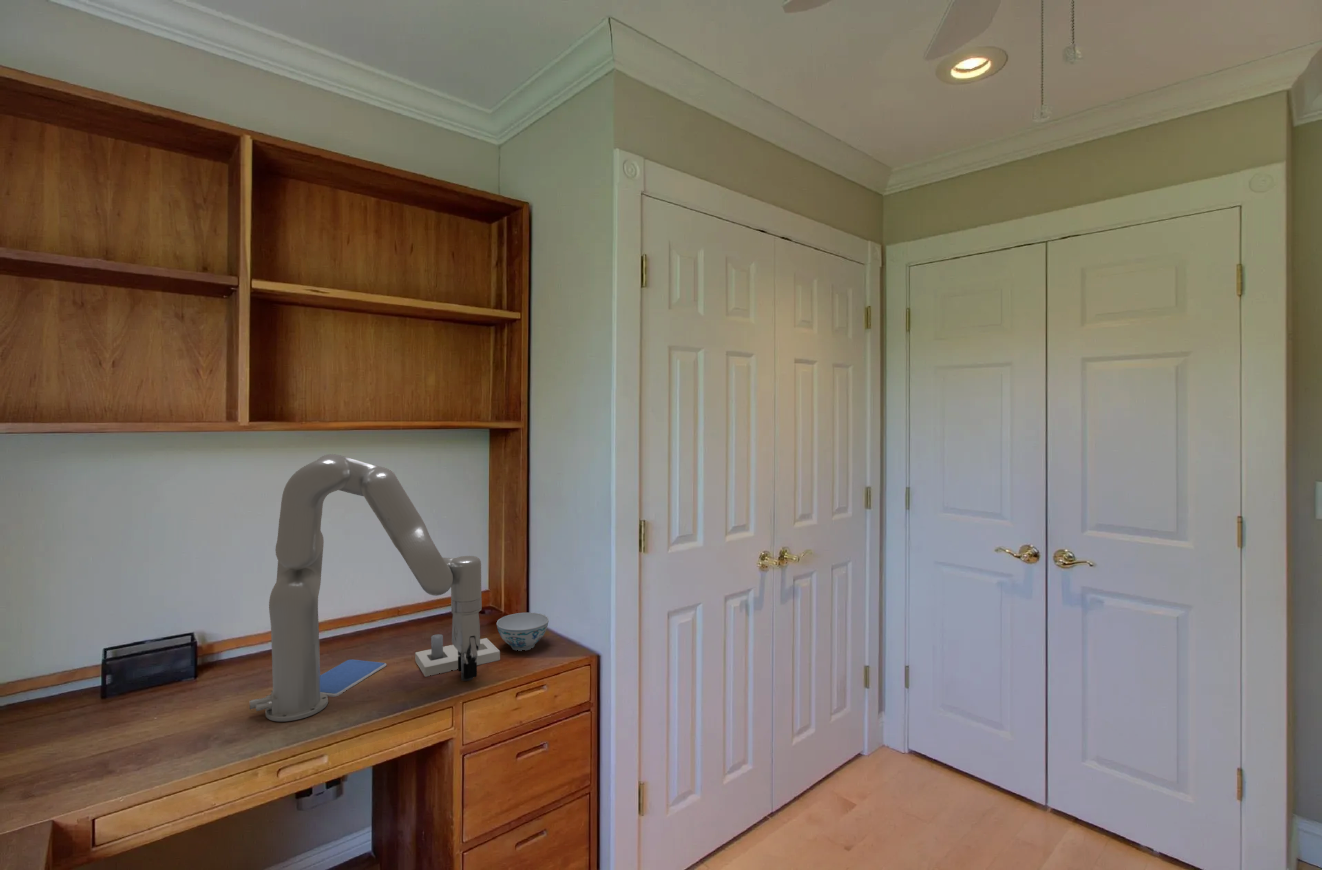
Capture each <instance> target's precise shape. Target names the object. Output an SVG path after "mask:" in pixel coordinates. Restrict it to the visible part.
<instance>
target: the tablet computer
mask: <svg viewBox="0 0 1322 870" xmlns="http://www.w3.org/2000/svg"><path fill="white" fill-rule="evenodd" d="M386 667H387V663H385V662H379V661H372V660H371V661H370V660H360V659H347V660H345V661H343V662H342V663H340V664H338V665H336V666H334V667H333V668H331V669H329V670H327V671H326V672H323V673H322V674H320V693H323V694H325V695H326V696H327V697H331V698H335V697H338V696H340V695H342V694H344V693H345V692H347V691H348V690H350V689H351V688H353V687H354V686H356V685H358V684H359V683H361V682H362V681H364V680H365V679H367V678H369V677H370V676H372V675H374V674H375V673H377V672H378V671H380V670H382V669H384V668H386ZM346 690H347V691H346ZM343 692H344V693H343Z"/></svg>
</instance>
